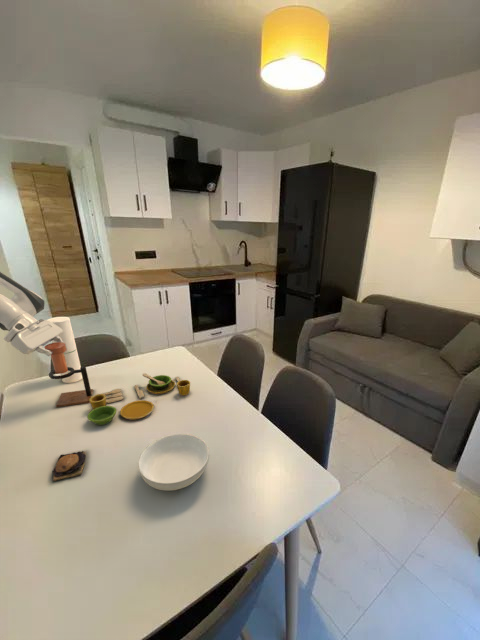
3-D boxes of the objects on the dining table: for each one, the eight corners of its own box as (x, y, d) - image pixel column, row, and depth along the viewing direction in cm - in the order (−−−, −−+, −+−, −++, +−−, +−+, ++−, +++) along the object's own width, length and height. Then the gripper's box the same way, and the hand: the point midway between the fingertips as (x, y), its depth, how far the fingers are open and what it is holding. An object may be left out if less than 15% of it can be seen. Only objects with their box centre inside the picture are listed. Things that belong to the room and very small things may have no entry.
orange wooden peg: (49, 376, 115) (42, 349, 110) (54, 368, 121) (47, 343, 116) (69, 373, 117) (63, 347, 112) (73, 366, 123) (67, 341, 118)
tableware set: (180, 376, 147) (179, 365, 144) (198, 405, 125) (198, 392, 123) (87, 396, 127) (84, 383, 125) (89, 433, 105) (86, 419, 103)
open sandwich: (83, 475, 88) (80, 466, 87) (50, 482, 85) (47, 473, 84) (88, 451, 97) (86, 442, 96) (58, 457, 94) (56, 448, 93)
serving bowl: (209, 446, 102) (209, 430, 100) (209, 496, 83) (209, 479, 81) (147, 451, 99) (145, 435, 96) (133, 505, 80) (130, 487, 77)
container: (59, 379, 140) (43, 319, 128) (77, 372, 146) (64, 315, 134) (67, 384, 135) (51, 323, 123) (86, 377, 142) (73, 319, 130)
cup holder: (54, 407, 119) (45, 376, 113) (59, 395, 127) (51, 365, 121) (90, 402, 123) (83, 372, 117) (93, 390, 132) (87, 362, 126)
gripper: (39, 323, 121) (68, 345, 125) (0, 341, 102) (36, 366, 107) (47, 313, 119) (76, 335, 124) (9, 329, 101) (45, 356, 105)
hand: (57, 350), depth 115 cm, fingers closed on orange wooden peg, 7 cm apart
